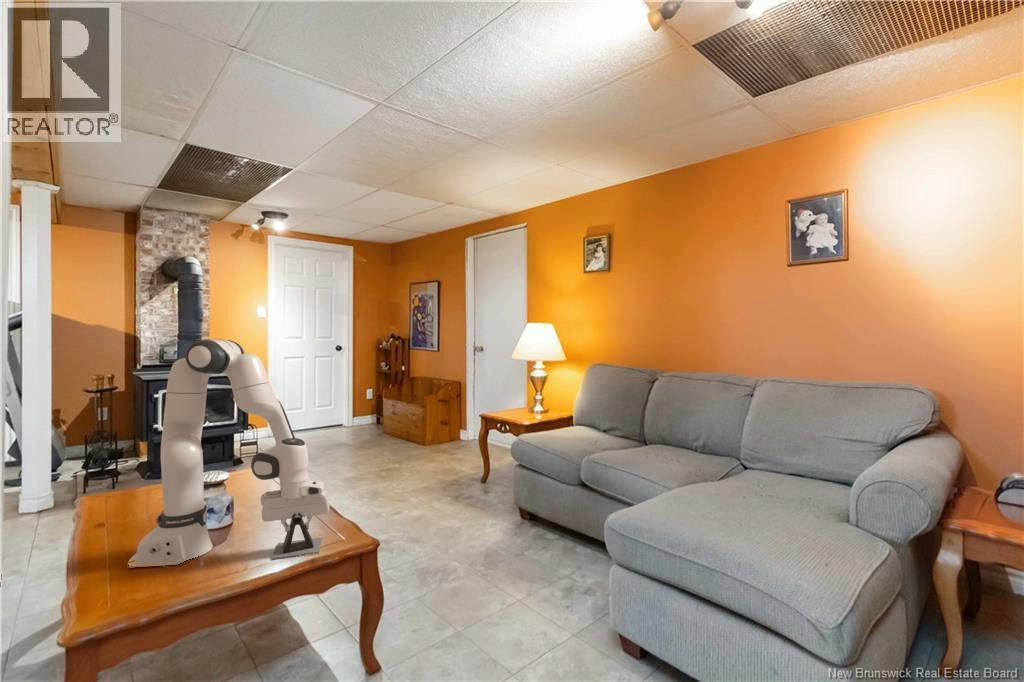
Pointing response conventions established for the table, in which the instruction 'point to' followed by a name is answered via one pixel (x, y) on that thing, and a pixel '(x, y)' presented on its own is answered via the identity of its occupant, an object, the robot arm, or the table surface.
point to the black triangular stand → (288, 539)
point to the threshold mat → (279, 550)
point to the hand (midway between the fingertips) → (297, 530)
